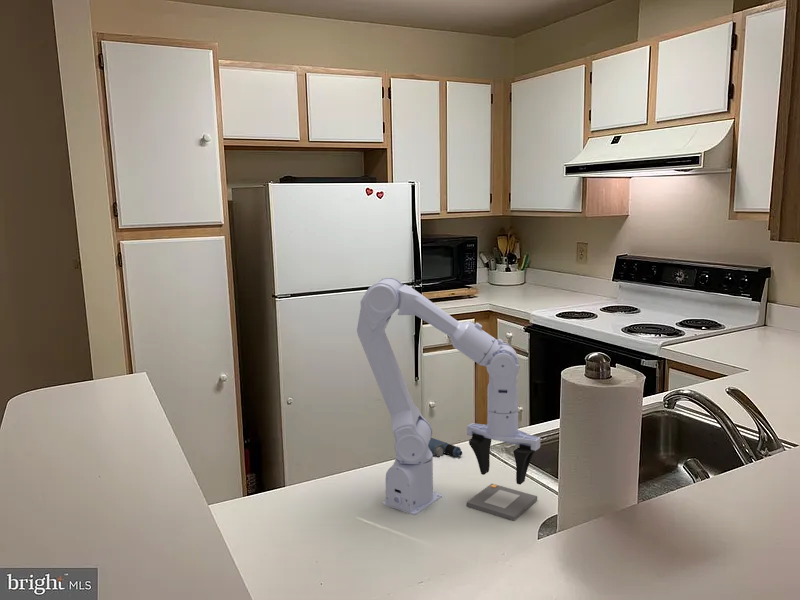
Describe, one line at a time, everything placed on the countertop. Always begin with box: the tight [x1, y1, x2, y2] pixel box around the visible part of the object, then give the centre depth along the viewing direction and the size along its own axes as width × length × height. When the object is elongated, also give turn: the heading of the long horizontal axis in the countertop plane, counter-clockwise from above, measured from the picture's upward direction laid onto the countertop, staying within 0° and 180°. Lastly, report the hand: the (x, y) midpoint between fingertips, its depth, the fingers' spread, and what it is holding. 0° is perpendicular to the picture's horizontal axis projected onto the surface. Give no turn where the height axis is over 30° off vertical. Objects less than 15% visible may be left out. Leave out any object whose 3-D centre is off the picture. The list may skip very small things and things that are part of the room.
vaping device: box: [428, 437, 463, 458], centre depth 145 cm, size 3×5×12 cm
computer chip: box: [465, 483, 538, 522], centre depth 120 cm, size 10×10×1 cm
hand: (502, 477), depth 119 cm, fingers open, 7 cm apart
